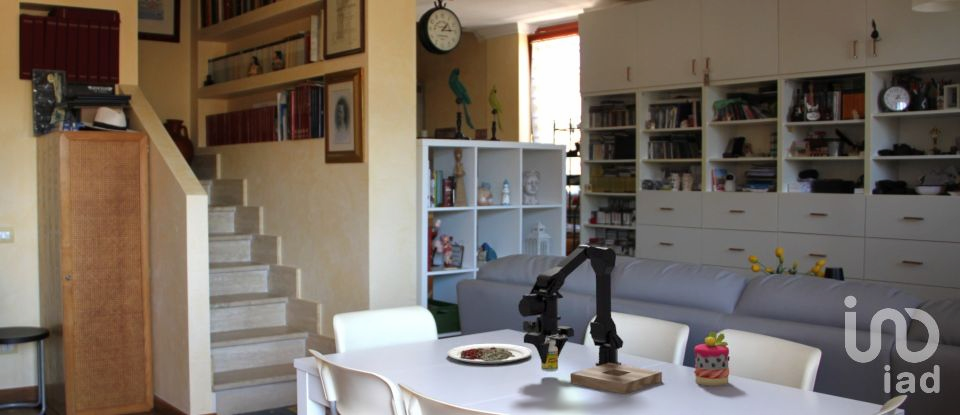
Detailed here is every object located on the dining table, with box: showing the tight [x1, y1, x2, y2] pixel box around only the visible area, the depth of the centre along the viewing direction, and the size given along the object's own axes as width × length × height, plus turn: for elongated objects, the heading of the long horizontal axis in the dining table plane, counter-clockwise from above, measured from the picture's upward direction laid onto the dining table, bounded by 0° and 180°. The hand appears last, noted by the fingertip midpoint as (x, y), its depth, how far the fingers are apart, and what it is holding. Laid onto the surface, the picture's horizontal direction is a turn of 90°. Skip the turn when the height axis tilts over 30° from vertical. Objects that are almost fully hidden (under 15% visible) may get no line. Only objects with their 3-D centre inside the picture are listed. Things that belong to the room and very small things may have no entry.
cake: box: [693, 331, 731, 387], centre depth 267 cm, size 10×11×15 cm
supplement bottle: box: [540, 338, 559, 373], centre depth 277 cm, size 5×5×10 cm
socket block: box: [570, 363, 663, 395], centre depth 269 cm, size 20×20×3 cm
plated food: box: [447, 343, 533, 365], centre depth 310 cm, size 30×30×3 cm
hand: (549, 362), depth 277 cm, fingers closed on supplement bottle, 5 cm apart
